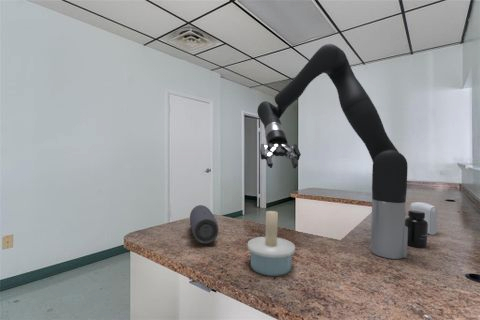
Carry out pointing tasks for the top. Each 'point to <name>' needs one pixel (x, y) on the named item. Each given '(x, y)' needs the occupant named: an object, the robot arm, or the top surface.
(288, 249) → the lid
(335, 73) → the robot arm
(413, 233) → the supplement bottle
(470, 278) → the top surface
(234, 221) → the top surface
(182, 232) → the top surface
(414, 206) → the photo printer
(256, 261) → the bowl
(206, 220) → the bluetooth speaker
